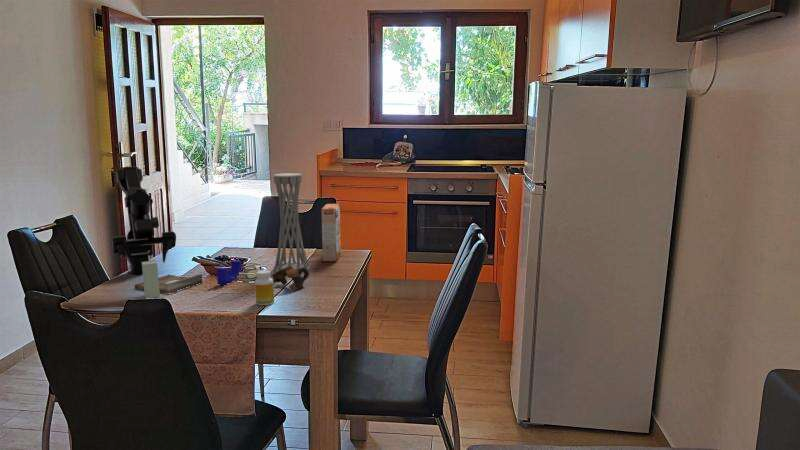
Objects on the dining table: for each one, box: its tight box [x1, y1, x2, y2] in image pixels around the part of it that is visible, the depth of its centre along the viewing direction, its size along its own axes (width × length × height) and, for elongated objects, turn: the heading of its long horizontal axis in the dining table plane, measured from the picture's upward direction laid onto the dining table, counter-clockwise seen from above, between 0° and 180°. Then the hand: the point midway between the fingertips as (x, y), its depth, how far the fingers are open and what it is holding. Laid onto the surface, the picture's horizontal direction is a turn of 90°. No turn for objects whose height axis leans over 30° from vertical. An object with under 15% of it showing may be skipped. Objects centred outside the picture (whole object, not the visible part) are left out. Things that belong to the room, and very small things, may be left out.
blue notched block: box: [216, 259, 243, 286], centre depth 203 cm, size 12×4×6 cm, turn 169°
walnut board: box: [134, 273, 203, 294], centre depth 198 cm, size 16×14×3 cm
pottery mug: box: [271, 266, 310, 292], centre depth 195 cm, size 12×10×8 cm
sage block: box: [142, 260, 161, 299], centre depth 185 cm, size 4×4×11 cm
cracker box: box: [321, 203, 342, 263], centre depth 234 cm, size 14×6×21 cm, turn 179°
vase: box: [272, 172, 311, 274], centre depth 215 cm, size 14×13×35 cm
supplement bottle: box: [254, 269, 275, 306], centre depth 177 cm, size 5×5×10 cm
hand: (148, 263), depth 187 cm, fingers open, 9 cm apart
